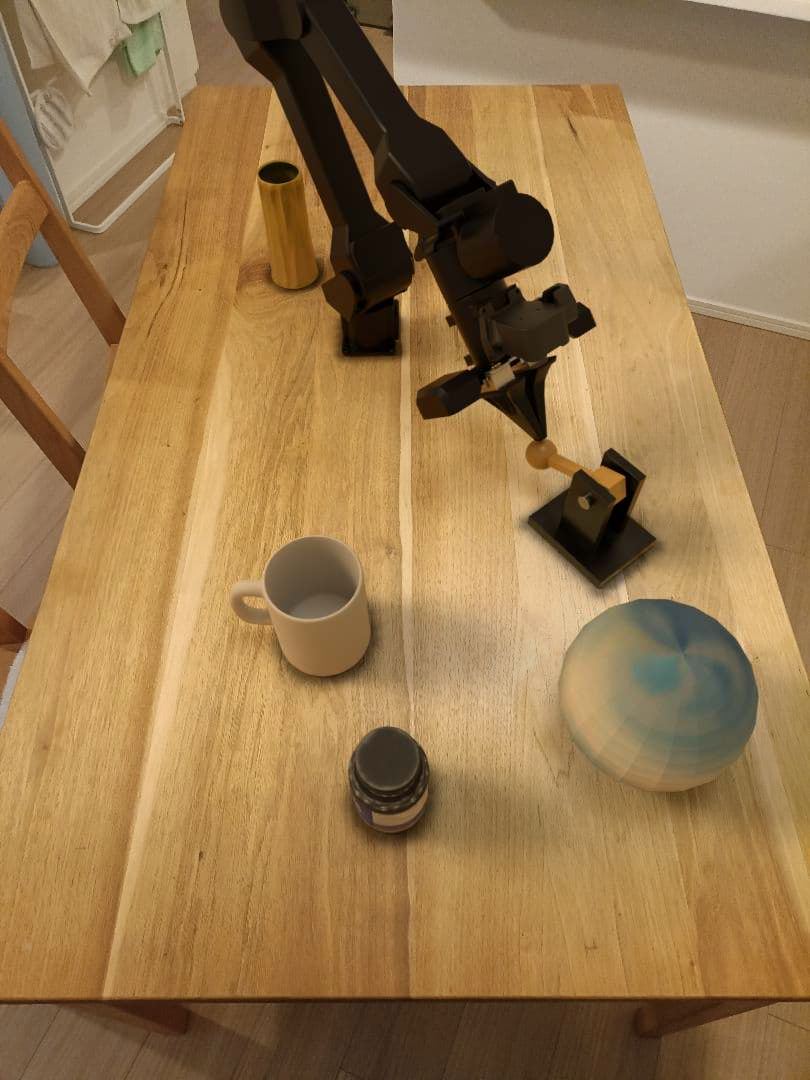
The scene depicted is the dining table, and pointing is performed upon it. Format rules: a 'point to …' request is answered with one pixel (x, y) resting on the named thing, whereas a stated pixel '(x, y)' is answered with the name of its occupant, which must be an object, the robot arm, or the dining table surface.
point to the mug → (311, 604)
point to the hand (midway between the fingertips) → (541, 439)
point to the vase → (287, 224)
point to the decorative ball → (658, 695)
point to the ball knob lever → (573, 467)
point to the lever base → (596, 523)
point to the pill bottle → (389, 779)
